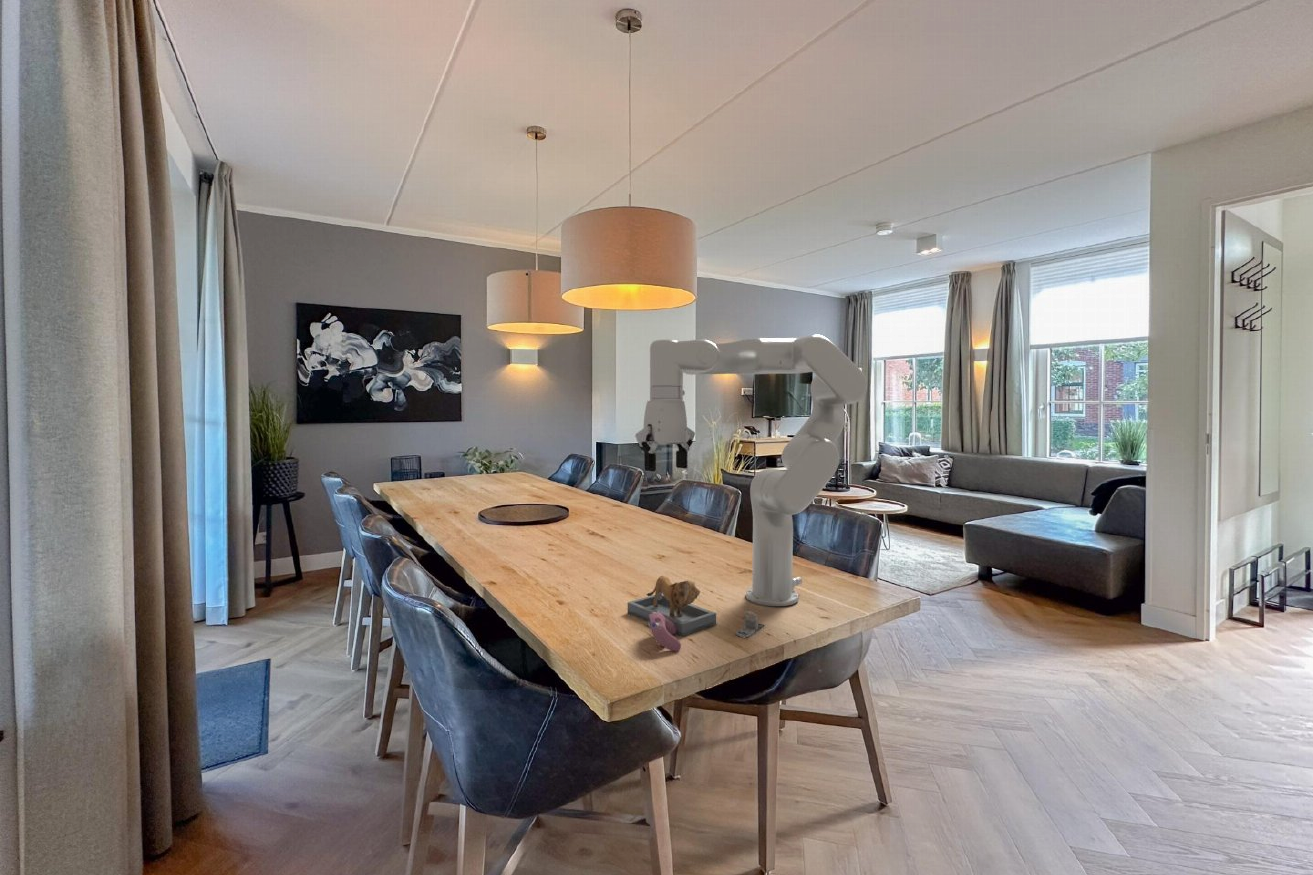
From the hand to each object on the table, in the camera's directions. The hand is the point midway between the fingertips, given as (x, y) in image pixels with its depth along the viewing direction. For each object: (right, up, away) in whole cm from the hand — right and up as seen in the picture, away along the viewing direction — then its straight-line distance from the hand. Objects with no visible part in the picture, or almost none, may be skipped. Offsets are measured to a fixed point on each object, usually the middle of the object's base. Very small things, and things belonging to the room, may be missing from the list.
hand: (666, 469), depth 135 cm
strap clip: (+17, -34, -12) cm, 40 cm away
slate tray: (+1, -33, -5) cm, 33 cm away
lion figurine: (+1, -31, -4) cm, 32 cm away
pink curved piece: (-1, -34, -19) cm, 38 cm away
